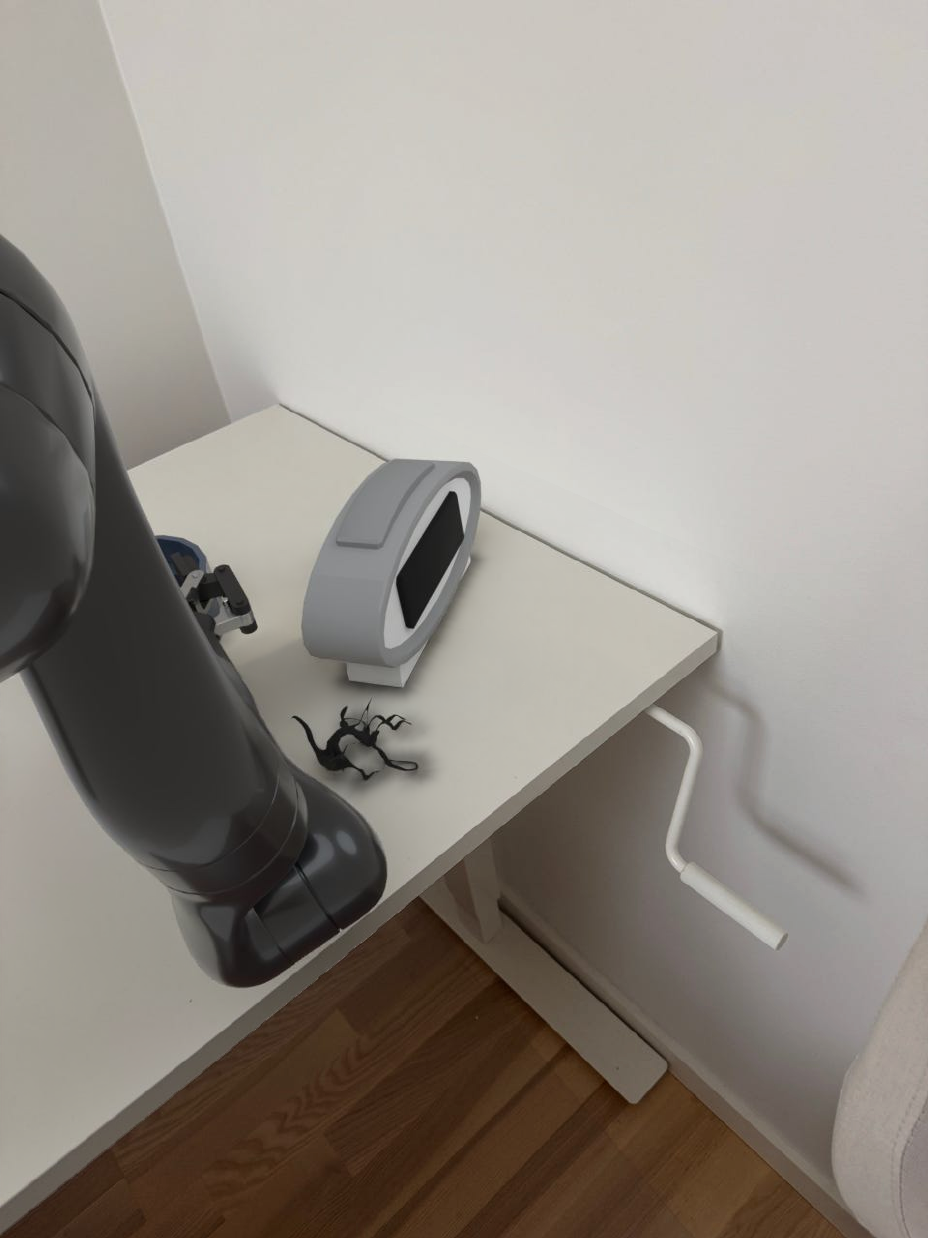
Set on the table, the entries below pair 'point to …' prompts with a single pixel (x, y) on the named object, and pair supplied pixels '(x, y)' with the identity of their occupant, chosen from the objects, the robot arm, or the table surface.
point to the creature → (332, 752)
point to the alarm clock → (391, 567)
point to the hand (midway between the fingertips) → (123, 585)
